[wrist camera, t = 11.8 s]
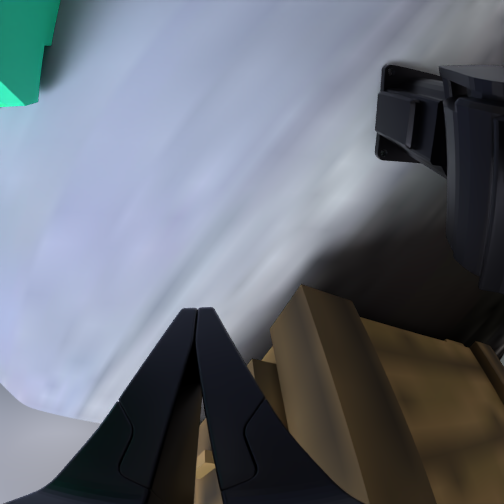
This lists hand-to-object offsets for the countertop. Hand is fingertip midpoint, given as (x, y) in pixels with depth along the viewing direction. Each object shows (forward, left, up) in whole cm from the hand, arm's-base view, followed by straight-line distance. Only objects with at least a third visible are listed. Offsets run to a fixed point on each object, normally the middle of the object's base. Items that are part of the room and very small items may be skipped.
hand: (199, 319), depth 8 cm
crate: (-13, +28, -13) cm, 33 cm away
